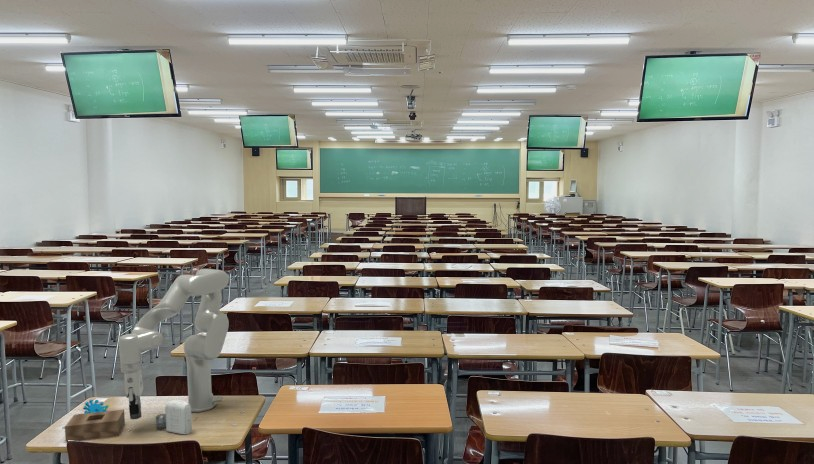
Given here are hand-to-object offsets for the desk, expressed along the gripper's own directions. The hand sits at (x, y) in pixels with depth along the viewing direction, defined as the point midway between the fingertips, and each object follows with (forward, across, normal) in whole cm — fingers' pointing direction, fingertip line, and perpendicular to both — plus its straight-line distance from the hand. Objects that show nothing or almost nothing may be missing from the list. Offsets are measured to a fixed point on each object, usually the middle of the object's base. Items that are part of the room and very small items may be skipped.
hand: (135, 411), depth 223 cm
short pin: (+8, -1, -9) cm, 12 cm away
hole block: (+7, +2, +15) cm, 17 cm away
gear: (+8, +19, +18) cm, 27 cm away
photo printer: (+8, -7, -16) cm, 19 cm away
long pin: (+2, 0, 0) cm, 2 cm away
